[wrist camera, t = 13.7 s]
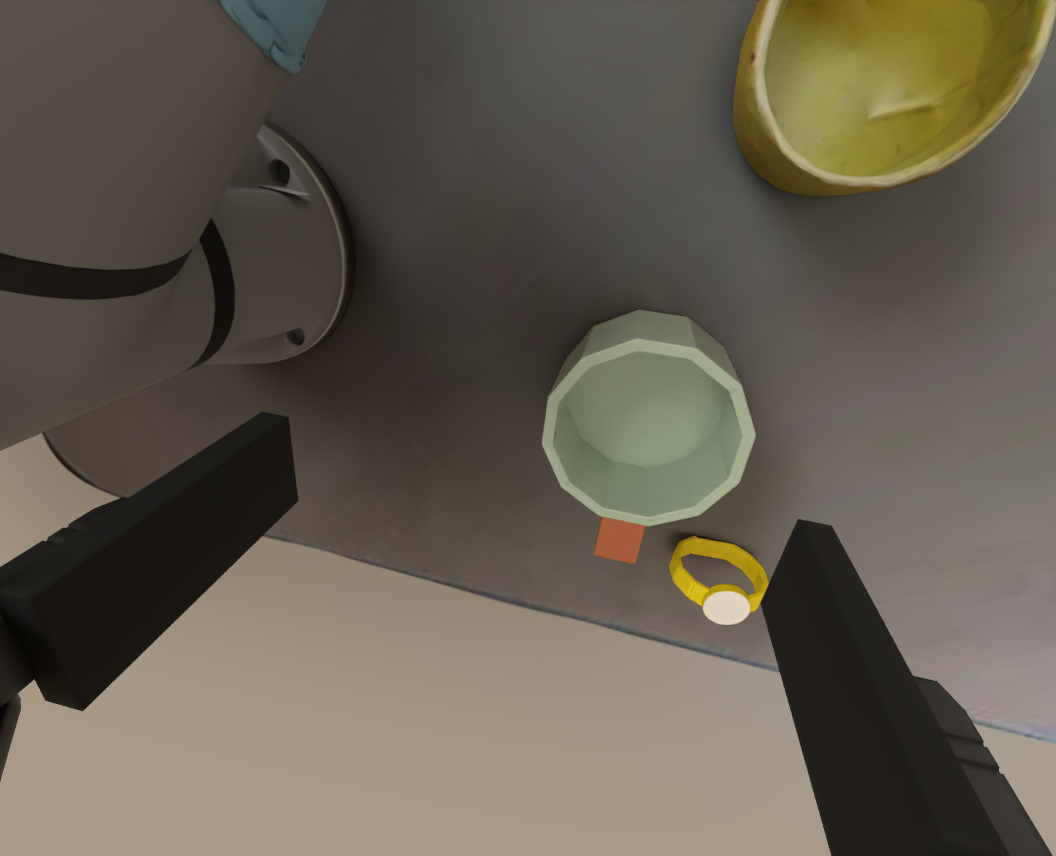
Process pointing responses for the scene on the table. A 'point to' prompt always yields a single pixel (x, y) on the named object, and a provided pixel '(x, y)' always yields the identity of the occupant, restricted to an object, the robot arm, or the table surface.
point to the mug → (879, 86)
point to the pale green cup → (646, 426)
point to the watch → (722, 599)
